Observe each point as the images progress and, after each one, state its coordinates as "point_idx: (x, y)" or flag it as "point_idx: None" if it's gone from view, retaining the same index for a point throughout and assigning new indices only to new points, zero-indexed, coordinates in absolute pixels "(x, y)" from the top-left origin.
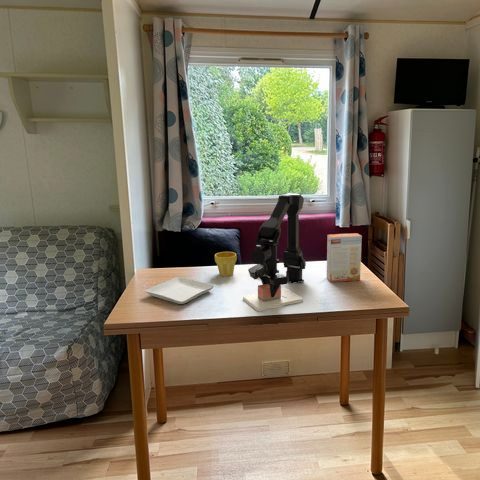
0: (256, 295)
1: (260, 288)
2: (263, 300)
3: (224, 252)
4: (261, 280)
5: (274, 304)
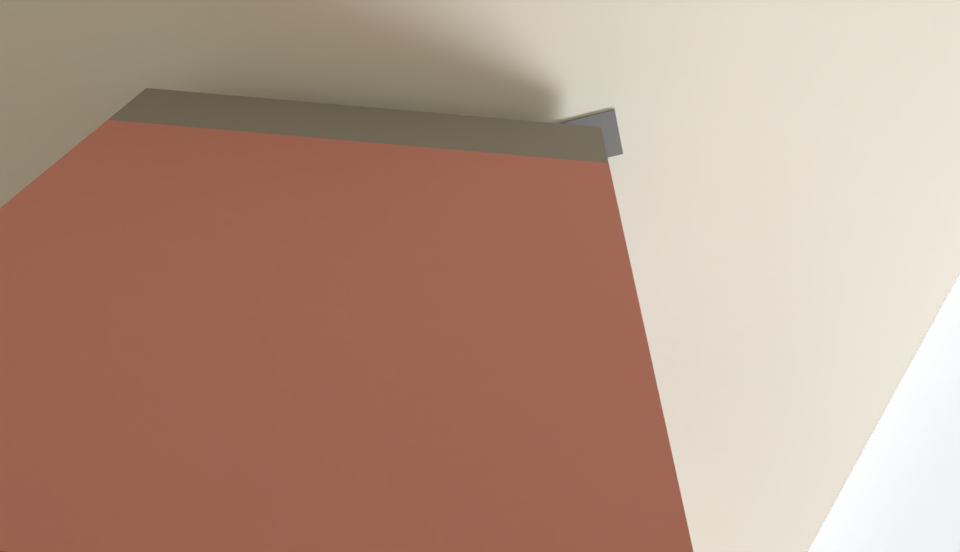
0: (835, 204)
1: (176, 476)
2: (135, 118)
3: None
4: None
5: None
